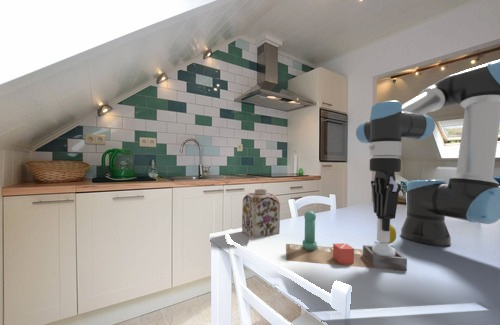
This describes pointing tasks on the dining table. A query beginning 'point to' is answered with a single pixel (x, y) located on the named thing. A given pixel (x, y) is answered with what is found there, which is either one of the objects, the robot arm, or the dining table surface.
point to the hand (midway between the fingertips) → (383, 241)
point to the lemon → (392, 234)
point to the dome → (383, 249)
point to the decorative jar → (260, 214)
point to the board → (360, 260)
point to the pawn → (309, 232)
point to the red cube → (343, 253)
